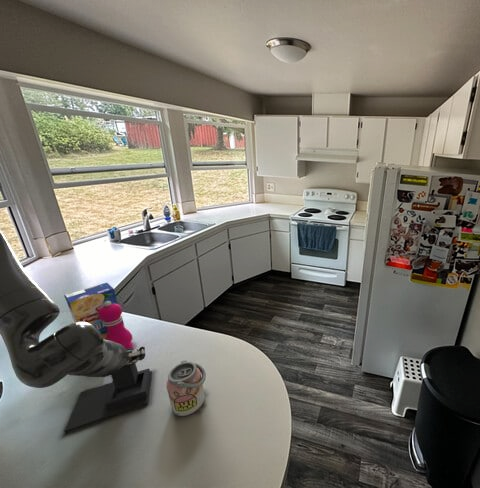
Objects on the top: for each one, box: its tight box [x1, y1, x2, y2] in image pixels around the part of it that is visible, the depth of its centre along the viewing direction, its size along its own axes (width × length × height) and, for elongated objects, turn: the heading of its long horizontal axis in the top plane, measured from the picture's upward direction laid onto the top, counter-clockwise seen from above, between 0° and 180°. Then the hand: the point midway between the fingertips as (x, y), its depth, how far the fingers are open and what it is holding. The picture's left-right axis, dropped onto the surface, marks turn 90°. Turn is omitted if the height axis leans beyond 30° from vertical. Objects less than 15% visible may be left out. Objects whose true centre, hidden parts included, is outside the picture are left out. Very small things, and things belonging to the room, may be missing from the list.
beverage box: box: [63, 282, 126, 340], centre depth 86 cm, size 7×11×22 cm, turn 144°
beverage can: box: [166, 359, 207, 417], centre depth 68 cm, size 9×8×12 cm
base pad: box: [63, 368, 153, 434], centre depth 70 cm, size 17×12×4 cm
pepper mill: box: [98, 301, 134, 350], centre depth 84 cm, size 7×7×20 cm
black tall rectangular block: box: [110, 348, 138, 390], centre depth 69 cm, size 5×5×9 cm
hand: (124, 362), depth 70 cm, fingers closed on black tall rectangular block, 4 cm apart
